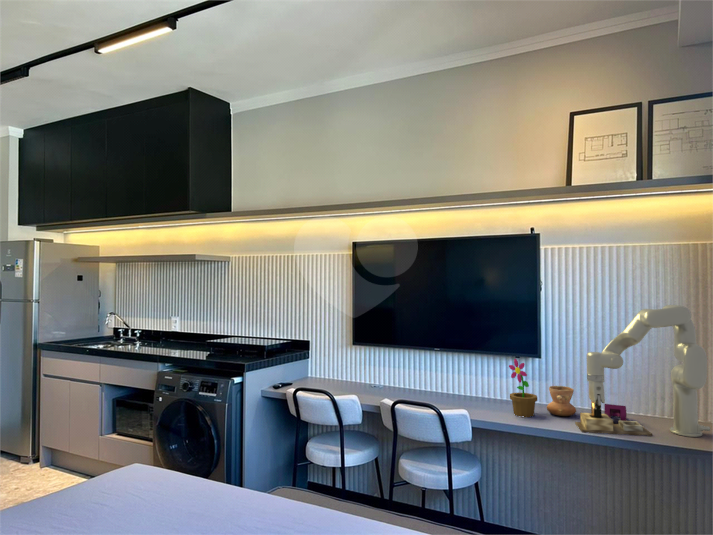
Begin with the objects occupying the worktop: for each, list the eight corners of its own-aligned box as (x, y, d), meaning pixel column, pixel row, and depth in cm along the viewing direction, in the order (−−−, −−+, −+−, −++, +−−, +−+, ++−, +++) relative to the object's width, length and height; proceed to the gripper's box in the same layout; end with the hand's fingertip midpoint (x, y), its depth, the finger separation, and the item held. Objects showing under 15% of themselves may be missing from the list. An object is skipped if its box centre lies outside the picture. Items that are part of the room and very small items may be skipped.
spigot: (599, 420, 237) (599, 402, 238) (602, 423, 233) (601, 404, 234) (590, 420, 238) (590, 401, 238) (593, 422, 234) (592, 403, 235)
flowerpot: (503, 413, 264) (503, 357, 265) (522, 410, 271) (522, 355, 272) (524, 419, 252) (523, 361, 253) (543, 416, 259) (543, 359, 260)
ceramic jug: (574, 420, 251) (574, 392, 251) (544, 416, 258) (544, 388, 259) (577, 412, 266) (577, 386, 267) (549, 409, 274) (549, 383, 274)
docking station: (641, 427, 238) (641, 414, 238) (652, 436, 224) (652, 422, 225) (575, 423, 244) (575, 411, 244) (582, 432, 231) (581, 419, 231)
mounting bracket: (606, 428, 257) (604, 420, 243) (606, 412, 260) (604, 403, 247) (627, 430, 252) (626, 423, 238) (626, 414, 256) (625, 405, 242)
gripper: (609, 381, 227) (610, 421, 227) (599, 375, 244) (599, 412, 243) (591, 381, 229) (592, 420, 228) (582, 374, 245) (583, 411, 245)
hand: (596, 415), depth 236 cm, fingers open, 4 cm apart
